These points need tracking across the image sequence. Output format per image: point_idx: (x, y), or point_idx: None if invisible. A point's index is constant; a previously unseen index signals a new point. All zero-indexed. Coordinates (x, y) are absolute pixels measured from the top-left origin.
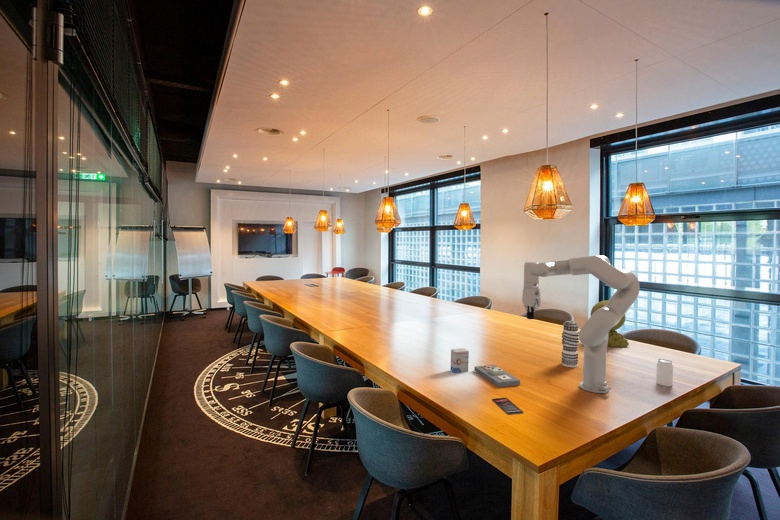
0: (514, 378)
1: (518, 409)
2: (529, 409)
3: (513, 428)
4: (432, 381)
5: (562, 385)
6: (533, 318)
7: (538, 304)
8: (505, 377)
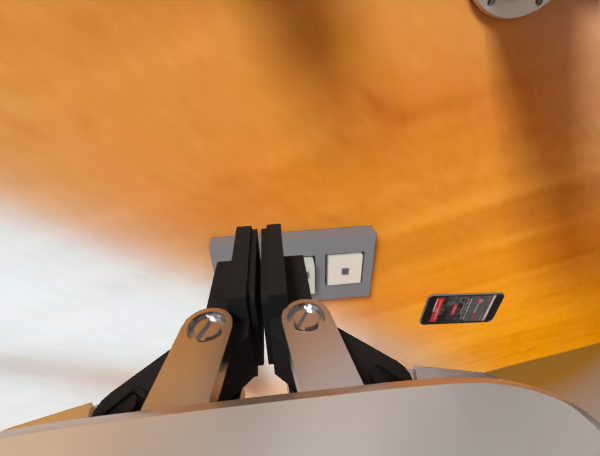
0: (357, 242)
1: (488, 297)
2: (498, 275)
3: (531, 330)
4: (283, 393)
5: (433, 77)
6: (280, 228)
7: (473, 437)
8: (348, 268)
